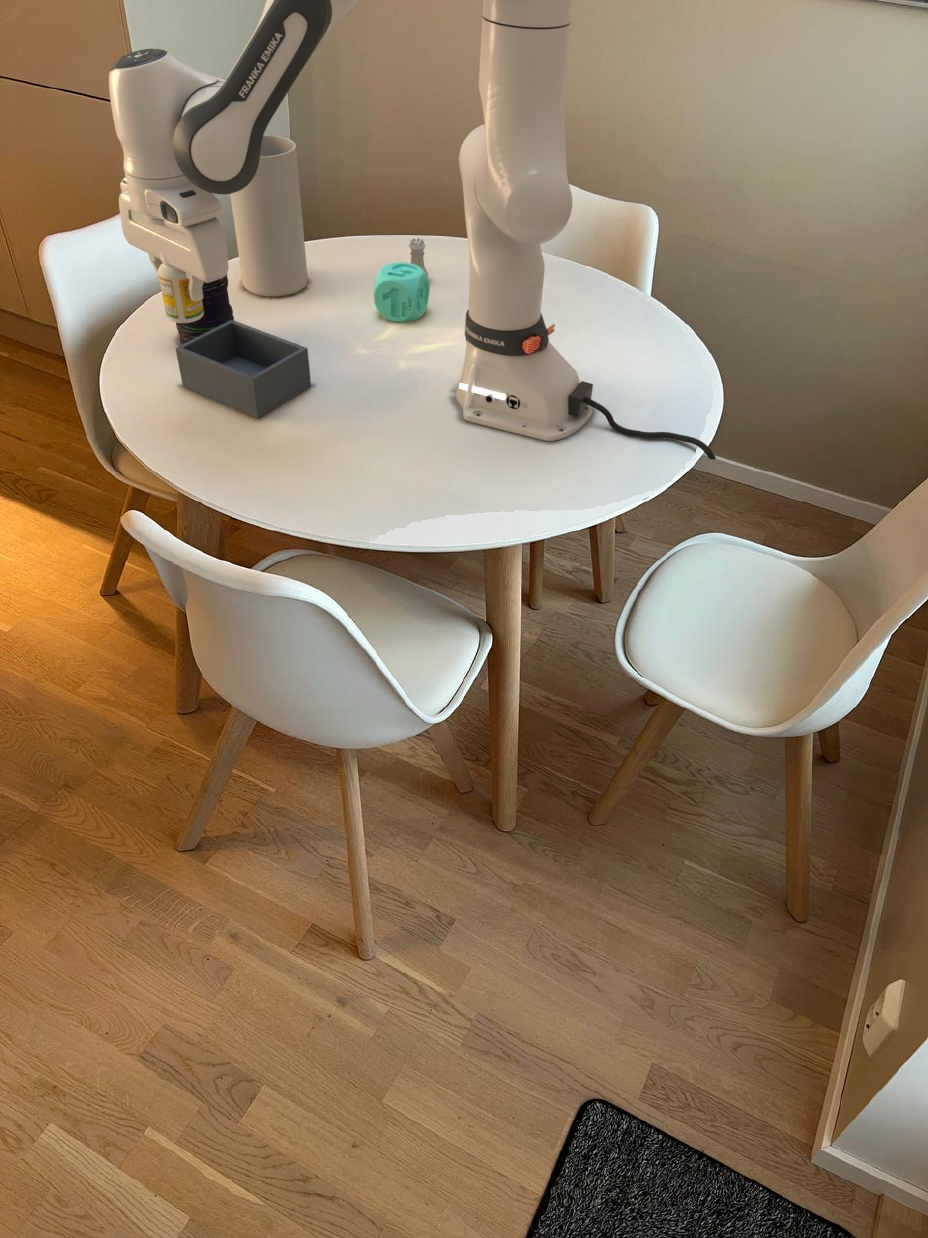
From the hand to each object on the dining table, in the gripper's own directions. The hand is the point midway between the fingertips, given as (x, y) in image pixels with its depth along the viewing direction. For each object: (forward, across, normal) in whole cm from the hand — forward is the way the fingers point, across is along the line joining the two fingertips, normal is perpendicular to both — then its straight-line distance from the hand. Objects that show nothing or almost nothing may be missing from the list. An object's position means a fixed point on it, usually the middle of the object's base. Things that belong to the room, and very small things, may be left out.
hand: (181, 291), depth 133 cm
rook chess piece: (+19, -10, +59) cm, 63 cm away
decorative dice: (+19, -2, +47) cm, 50 cm away
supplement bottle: (+4, 0, 0) cm, 4 cm away
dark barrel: (+19, -19, +15) cm, 31 cm away
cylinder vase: (+19, -28, +38) cm, 51 cm away
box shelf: (+19, -1, +9) cm, 21 cm away
